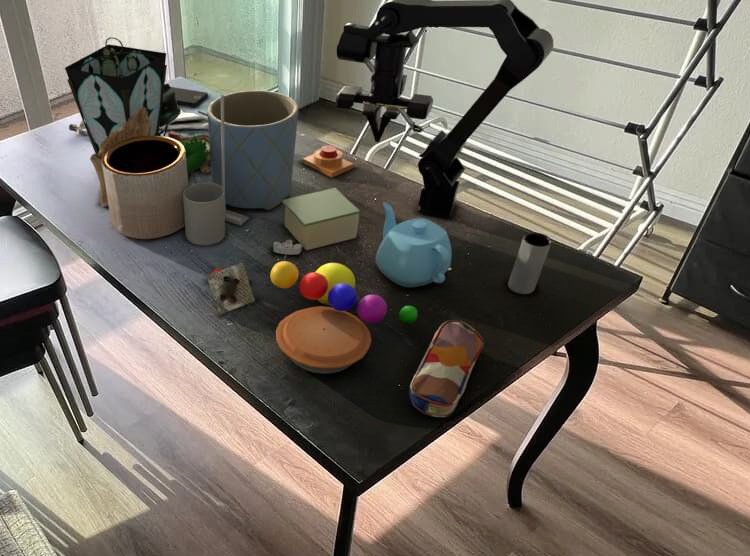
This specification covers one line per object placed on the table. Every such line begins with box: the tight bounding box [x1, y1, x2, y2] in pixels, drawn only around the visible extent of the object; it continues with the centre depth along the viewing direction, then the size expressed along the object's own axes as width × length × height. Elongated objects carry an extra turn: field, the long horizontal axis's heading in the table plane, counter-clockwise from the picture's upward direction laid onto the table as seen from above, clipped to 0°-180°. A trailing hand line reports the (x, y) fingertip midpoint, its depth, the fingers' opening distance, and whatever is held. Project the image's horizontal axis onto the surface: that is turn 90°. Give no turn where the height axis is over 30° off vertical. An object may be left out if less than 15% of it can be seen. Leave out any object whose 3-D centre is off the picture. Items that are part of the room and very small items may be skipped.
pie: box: [275, 305, 372, 375], centre depth 113 cm, size 16×16×5 cm
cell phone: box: [170, 86, 209, 107], centre depth 199 cm, size 9×18×1 cm, turn 62°
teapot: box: [375, 201, 452, 288], centre depth 127 cm, size 13×11×18 cm
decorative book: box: [177, 132, 211, 174], centre depth 165 cm, size 13×18×5 cm
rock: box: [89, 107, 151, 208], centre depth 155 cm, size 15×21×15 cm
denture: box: [167, 130, 184, 140], centre depth 173 cm, size 6×4×8 cm
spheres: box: [269, 260, 419, 324], centre depth 118 cm, size 25×8×17 cm
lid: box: [281, 187, 361, 227], centre depth 138 cm, size 12×10×1 cm
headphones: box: [159, 83, 182, 137], centre depth 173 cm, size 13×13×20 cm
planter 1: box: [102, 135, 190, 240], centre depth 144 cm, size 18×18×16 cm
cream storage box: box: [284, 205, 360, 251], centre depth 140 cm, size 11×10×6 cm
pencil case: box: [409, 319, 485, 418], centre depth 106 cm, size 11×20×5 cm, turn 163°
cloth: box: [159, 108, 208, 130], centre depth 187 cm, size 26×14×2 cm, turn 38°
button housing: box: [302, 148, 354, 179], centre depth 162 cm, size 10×7×3 cm
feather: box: [169, 127, 191, 135], centre depth 169 cm, size 2×28×2 cm
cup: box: [183, 181, 226, 246], centre depth 141 cm, size 8×8×10 cm
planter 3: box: [507, 232, 553, 295], centre depth 121 cm, size 4×4×10 cm
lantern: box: [64, 36, 168, 154], centre depth 160 cm, size 17×17×30 cm
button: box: [320, 144, 338, 158], centre depth 161 cm, size 4×4×2 cm
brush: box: [220, 93, 250, 226], centre depth 140 cm, size 4×28×9 cm
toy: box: [180, 135, 209, 184], centre depth 150 cm, size 17×9×15 cm, turn 32°
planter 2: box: [206, 89, 299, 211], centre depth 149 cm, size 19×19×20 cm
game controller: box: [272, 239, 303, 261], centre depth 134 cm, size 6×12×3 cm, turn 2°
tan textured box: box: [206, 262, 256, 316], centre depth 127 cm, size 8×8×6 cm
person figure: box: [68, 119, 88, 137], centre depth 184 cm, size 12×15×3 cm
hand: (377, 141), depth 145 cm, fingers closed
